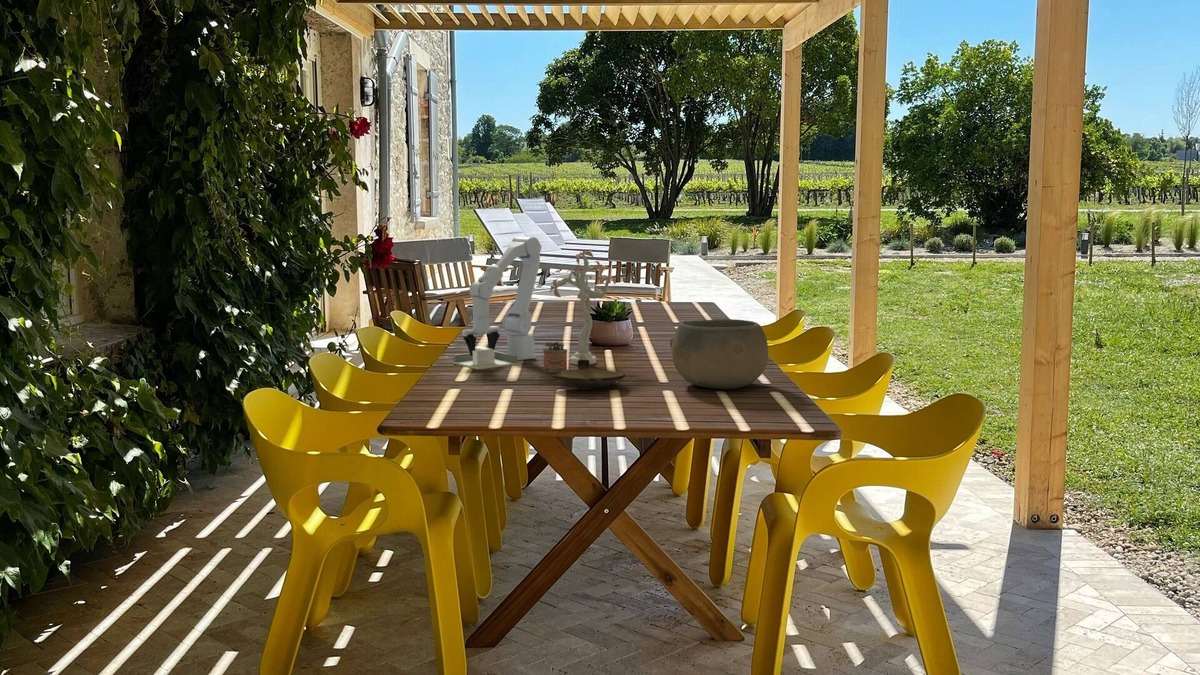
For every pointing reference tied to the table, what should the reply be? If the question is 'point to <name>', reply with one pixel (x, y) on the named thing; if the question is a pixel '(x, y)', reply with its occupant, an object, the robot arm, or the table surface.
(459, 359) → the arena
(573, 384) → the oil lamp
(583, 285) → the white tree stand
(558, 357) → the lighter
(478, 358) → the bracket
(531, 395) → the table surface
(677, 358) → the clay pot
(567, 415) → the table surface
